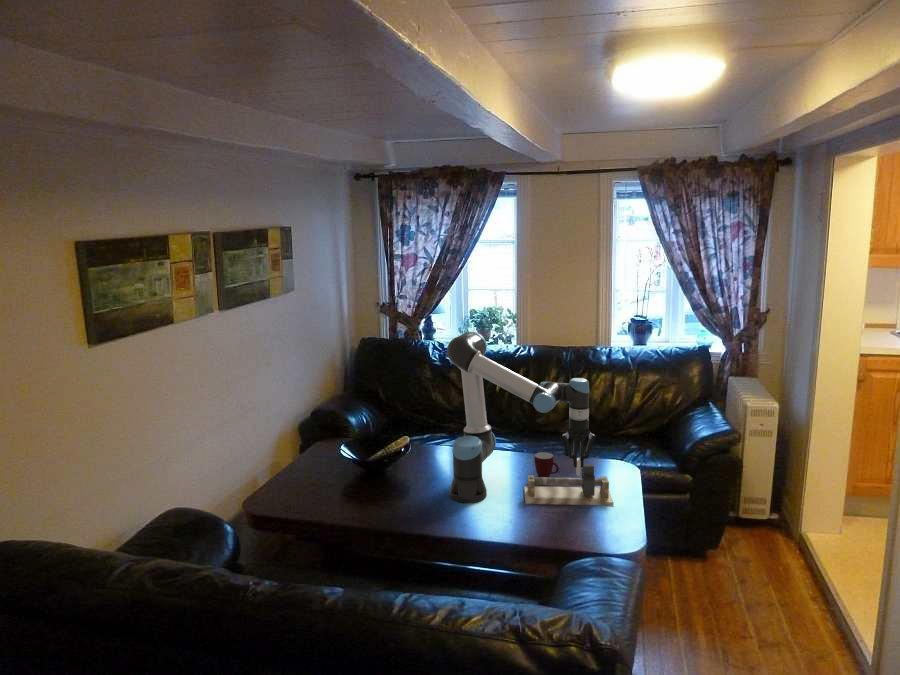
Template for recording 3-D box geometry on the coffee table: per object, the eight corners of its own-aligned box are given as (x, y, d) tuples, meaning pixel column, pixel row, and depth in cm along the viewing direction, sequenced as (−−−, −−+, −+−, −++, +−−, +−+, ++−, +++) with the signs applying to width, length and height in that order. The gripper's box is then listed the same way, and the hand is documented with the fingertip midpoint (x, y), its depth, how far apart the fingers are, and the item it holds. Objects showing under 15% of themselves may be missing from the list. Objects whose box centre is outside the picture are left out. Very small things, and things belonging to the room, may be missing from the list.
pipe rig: (525, 503, 249) (525, 484, 248) (524, 488, 263) (524, 470, 262) (613, 505, 246) (614, 485, 245) (607, 490, 260) (608, 471, 259)
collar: (584, 495, 250) (584, 469, 248) (581, 487, 258) (582, 461, 256) (594, 495, 250) (595, 469, 248) (591, 487, 257) (592, 461, 255)
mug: (560, 475, 276) (560, 453, 274) (557, 482, 268) (557, 460, 267) (536, 473, 279) (536, 451, 278) (532, 480, 272) (532, 457, 270)
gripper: (563, 420, 245) (562, 478, 249) (597, 420, 244) (596, 478, 248) (561, 414, 253) (560, 470, 257) (594, 414, 251) (593, 471, 256)
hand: (578, 474), depth 253 cm, fingers closed
